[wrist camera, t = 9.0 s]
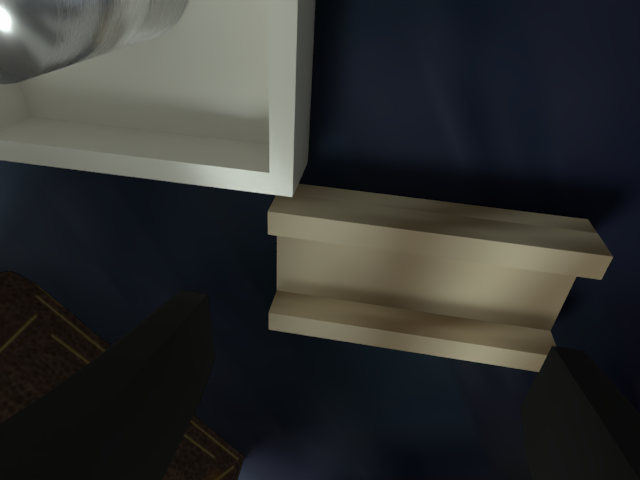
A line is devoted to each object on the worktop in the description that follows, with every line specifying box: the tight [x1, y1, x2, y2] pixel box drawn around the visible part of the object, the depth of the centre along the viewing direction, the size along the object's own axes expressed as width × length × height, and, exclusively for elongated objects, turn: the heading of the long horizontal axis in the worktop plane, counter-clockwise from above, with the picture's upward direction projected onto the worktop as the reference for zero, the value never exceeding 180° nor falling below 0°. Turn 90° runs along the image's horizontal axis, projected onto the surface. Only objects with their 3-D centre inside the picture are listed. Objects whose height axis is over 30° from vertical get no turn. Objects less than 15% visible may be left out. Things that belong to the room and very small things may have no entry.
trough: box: [268, 184, 613, 372], centre depth 18 cm, size 12×6×2 cm, turn 87°
